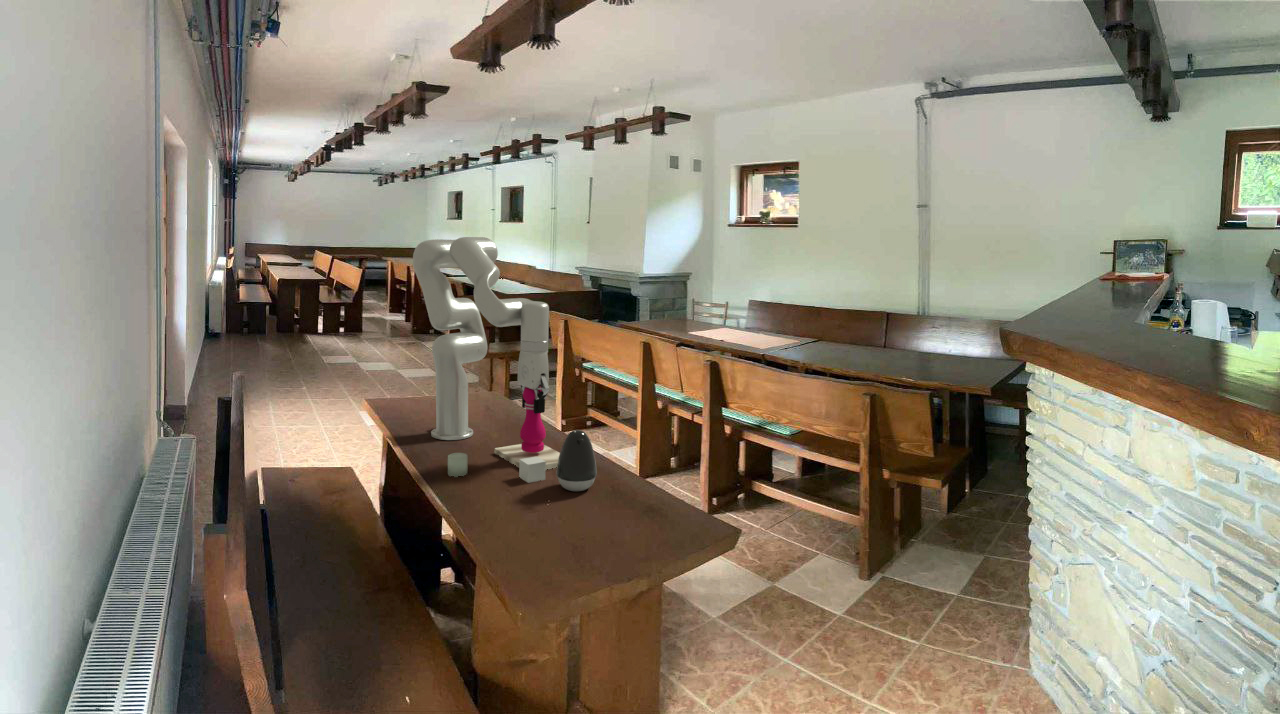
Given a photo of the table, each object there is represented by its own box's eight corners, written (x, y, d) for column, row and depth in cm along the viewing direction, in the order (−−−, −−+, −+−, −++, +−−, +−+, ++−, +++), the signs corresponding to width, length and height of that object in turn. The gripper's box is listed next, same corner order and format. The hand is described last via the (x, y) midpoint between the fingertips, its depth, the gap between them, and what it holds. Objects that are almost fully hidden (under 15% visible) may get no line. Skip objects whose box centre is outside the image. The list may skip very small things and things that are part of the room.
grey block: (519, 477, 194) (519, 459, 193) (536, 474, 197) (536, 456, 196) (528, 483, 190) (528, 464, 189) (545, 479, 193) (545, 461, 192)
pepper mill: (540, 454, 204) (542, 383, 201) (515, 451, 206) (516, 381, 202) (548, 446, 211) (550, 378, 208) (525, 444, 213) (526, 376, 209)
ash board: (494, 453, 213) (494, 448, 212) (537, 446, 221) (537, 441, 221) (528, 473, 197) (528, 467, 197) (572, 464, 205) (573, 459, 205)
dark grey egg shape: (559, 496, 181) (560, 436, 179) (553, 482, 191) (554, 425, 188) (600, 494, 184) (602, 435, 181) (591, 480, 194) (593, 424, 191)
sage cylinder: (444, 472, 195) (444, 454, 194) (462, 469, 198) (462, 451, 197) (452, 478, 191) (452, 459, 190) (470, 475, 194) (470, 456, 193)
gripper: (507, 342, 208) (506, 404, 211) (538, 352, 194) (536, 419, 198) (531, 340, 212) (530, 401, 216) (562, 350, 199) (560, 415, 202)
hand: (533, 409), depth 207 cm, fingers closed on pepper mill, 5 cm apart
